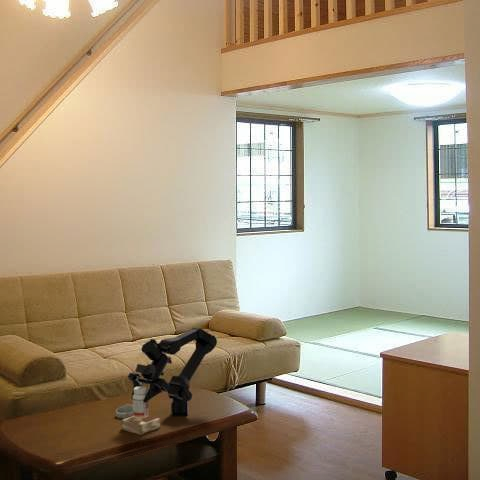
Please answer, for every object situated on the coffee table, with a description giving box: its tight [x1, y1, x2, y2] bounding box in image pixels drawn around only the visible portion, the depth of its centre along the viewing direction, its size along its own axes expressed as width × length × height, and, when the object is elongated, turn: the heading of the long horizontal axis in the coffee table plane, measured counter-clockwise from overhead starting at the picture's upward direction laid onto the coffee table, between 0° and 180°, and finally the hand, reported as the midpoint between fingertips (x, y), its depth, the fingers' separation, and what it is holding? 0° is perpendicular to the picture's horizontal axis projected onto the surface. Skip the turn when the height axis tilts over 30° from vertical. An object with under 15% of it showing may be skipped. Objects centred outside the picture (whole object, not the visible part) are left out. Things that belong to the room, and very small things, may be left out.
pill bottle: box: [132, 385, 150, 419], centre depth 265 cm, size 6×6×11 cm
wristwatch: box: [115, 403, 133, 420], centre depth 280 cm, size 9×6×5 cm
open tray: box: [120, 416, 161, 436], centre depth 265 cm, size 11×11×4 cm
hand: (138, 400), depth 264 cm, fingers closed on pill bottle, 6 cm apart
